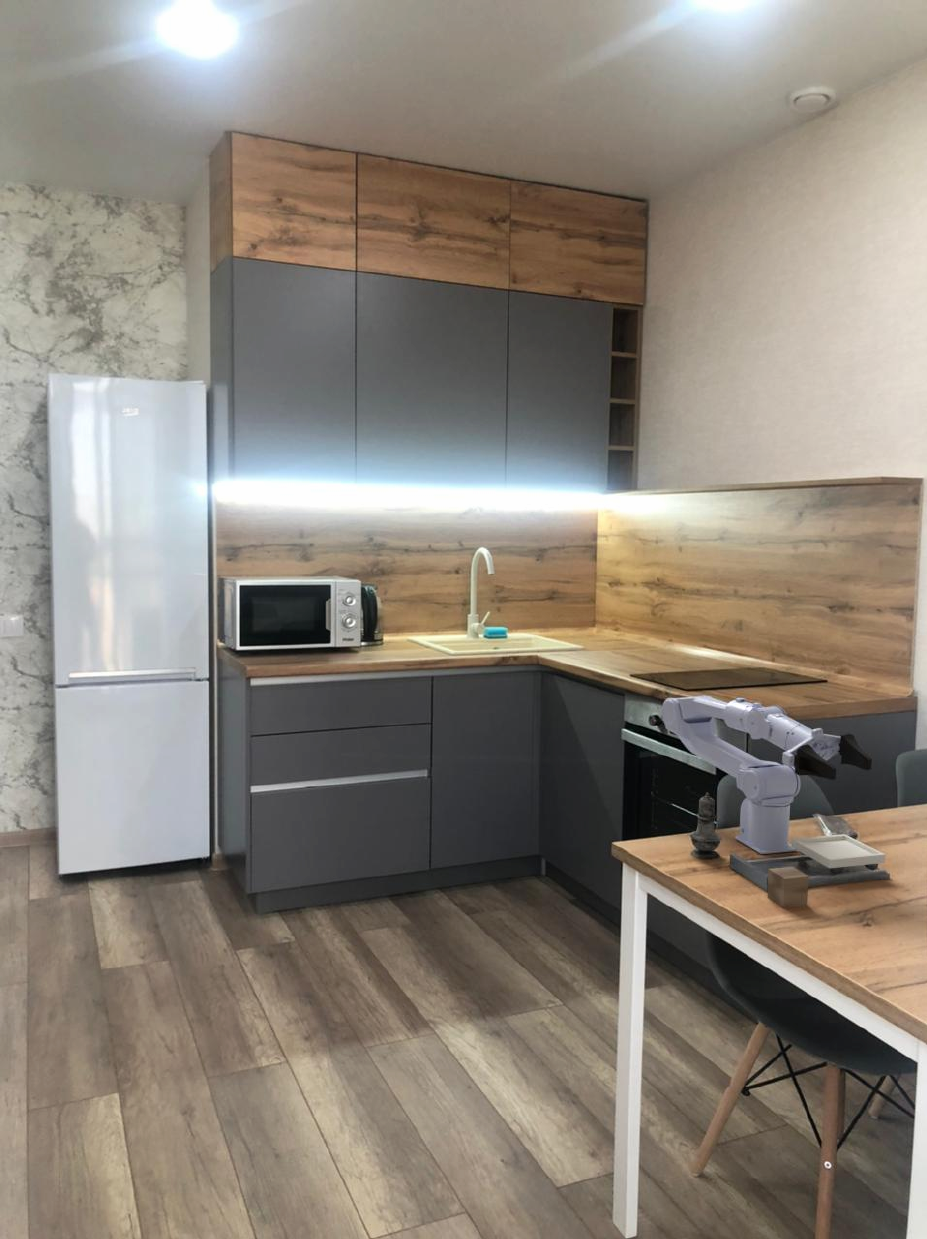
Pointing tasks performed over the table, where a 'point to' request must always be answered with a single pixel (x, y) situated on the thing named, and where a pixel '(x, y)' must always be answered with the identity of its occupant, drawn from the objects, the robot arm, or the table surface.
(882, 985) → the table surface
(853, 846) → the white recessed tray
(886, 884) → the table surface
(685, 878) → the table surface
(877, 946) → the table surface
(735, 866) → the dark grey tray
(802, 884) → the plain brown block
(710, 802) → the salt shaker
